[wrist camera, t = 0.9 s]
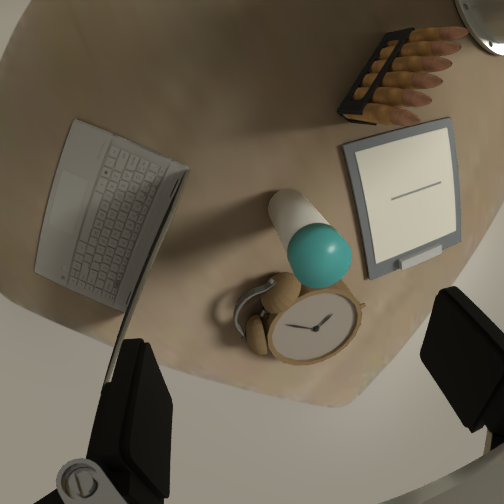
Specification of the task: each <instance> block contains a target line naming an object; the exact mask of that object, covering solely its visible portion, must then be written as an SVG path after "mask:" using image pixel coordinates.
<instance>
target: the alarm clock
mask: <svg viewBox="0 0 504 504" xmlns="http://www.w3.org/2000/svg"><path fill="white" fill-rule="evenodd" d="M260 293H261V303H262V305H263V306H264V310H262V312H261V314H260V316H261V317H262V318H261V319H262V322H261V319H260V316H259V314H256V315H254V316H252V317H250V318H249V320H248V321H247V323H246V327H245V334H244V331H243V329H242V327H241V326H240V325H239V324H238V322H237V317H238V313H239V311H240V309H241V307H242V306H243V305H244V303H245V302H246V301H247V300H249V299H250V298H251V297H253V296H255V295H257V294H260ZM365 306H366V305H365V303H362V304H359V302H358V301H357V299H356V298H355V297H354V296H353V295H352V293H351V292H350V290H349V288H348V287H347V286H346V285H345V284H344V283H343V282H342V280H339V281H338V282H336V283H335V284H333V285H331V286H328V287H325V288H310V287H307V286H305V285H303V284H302V283H301V282H299V281H298V279H297V278H296V276H295V275H294V274H292V273H288V272H282V273H278V274H276V275H274V276H272V277H271V278H269V279H268V281H267V282H266V283H265V284H264V285H262V286H259V287H256V288H253V289H251V290H249V291H247V292H246V293H245V294H243V295H242V297H241V298H240V299H239V300H238V302H237V304H236V305H235V309H234V316H233V317H234V321H235V325H236V328H237V329H238V331H239V332H240V333H241V334H242V337H241V340H242V341H247V342H246V343H248V345H249V347H250V349H251V350H252V351H253V352H254V353H256V354H259V355H267V346H266V340H267V343H268V347H269V349H270V351H271V352H272V354H273V355H274V357H276V358H277V359H279V360H280V361H282V362H283V363H288V364H292V365H310V364H314V363H318V362H322V361H324V360H326V359H328V358H330V357H332V356H334V355H336V354H337V353H338V352H340V351H341V350H342V349H344V348H345V347H346V346H347V345H348V344H349V343H350V341H351V340H352V339H353V338H354V337H355V335H356V333H357V331H358V329H359V327H360V325H361V318H362V311H361V309H362V308H363V307H365ZM265 337H266V340H265Z"/></svg>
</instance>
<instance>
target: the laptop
mask: <svg viewBox="0 0 504 504" xmlns="http://www.w3.org/2000/svg"><path fill="white" fill-rule="evenodd" d="M189 170H190V169H189V167H188V166H186V165H184V164H182V163H180V162H177V161H175V160H173V159H171V158H168V157H166V156H164V155H162V154H159V153H157V152H155V151H153V150H150V149H148V148H146V147H143V146H141V145H139V144H136V143H134V142H132V141H129V140H127V139H124V138H122V137H120V136H117V135H115V134H112V133H110V132H107V131H105V130H102V129H100V128H97V127H95V126H92V125H90V124H87V123H85V122H82V121H80V120H77V119H74V121H73V123H72V126H71V128H70V131H69V134H68V137H67V140H66V143H65V145H64V148H63V151H62V155H61V158H60V161H59V164H58V167H57V171H56V174H55V178H54V181H53V185H52V188H51V192H50V196H49V200H48V204H47V208H46V212H45V216H44V221H43V225H42V230H41V235H40V240H39V246H38V251H37V257H36V263H35V270H34V271H35V273H37V274H39V275H41V276H43V277H45V278H47V279H49V280H51V281H53V282H55V283H58V284H60V285H62V286H64V287H66V288H68V289H70V290H72V291H75V292H77V293H79V294H81V295H84V296H86V297H88V298H90V299H93V300H95V301H97V302H99V303H102V304H104V305H106V306H109V307H111V308H114V309H116V310H118V311H121V312H123V313H125V315H124V318H123V321H122V324H121V327H120V330H119V333H118V336H117V340H116V343H115V346H114V349H113V353H112V356H111V359H110V362H109V366H108V369H107V373H106V376H105V380H104V383H103V386H104V384H105V383H106V382H109V379H110V376H111V373H112V370H113V367H114V364H115V361H116V358H117V356H118V353H119V350H120V347H121V344H122V341H123V339H124V336H125V333H126V331H127V328H128V325H129V323H130V320H131V317H132V315H133V312H134V310H135V307H136V304H137V302H138V299H139V297H140V294H141V292H142V289H143V287H144V284H145V282H146V279H147V277H148V275H149V272H150V270H151V267H152V265H153V263H154V260H155V258H156V256H157V253H158V251H159V249H160V246H161V244H162V242H163V239H164V237H165V235H166V233H167V230H168V228H169V226H170V224H171V222H172V219H173V217H174V214H175V211H176V208H177V205H178V202H179V199H180V196H181V193H182V191H183V188H184V185H185V182H186V179H187V176H188V173H189ZM177 180H178V182H177ZM176 182H177V184H176ZM175 184H176V186H175ZM174 186H175V188H174ZM173 188H174V190H173ZM172 190H173V192H172ZM171 192H172V194H171ZM170 195H171V196H170ZM130 291H131V293H130ZM129 294H130V296H129ZM128 296H129V298H128ZM127 299H128V301H127ZM102 389H103V387H102ZM101 392H102V391H101Z"/></svg>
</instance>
